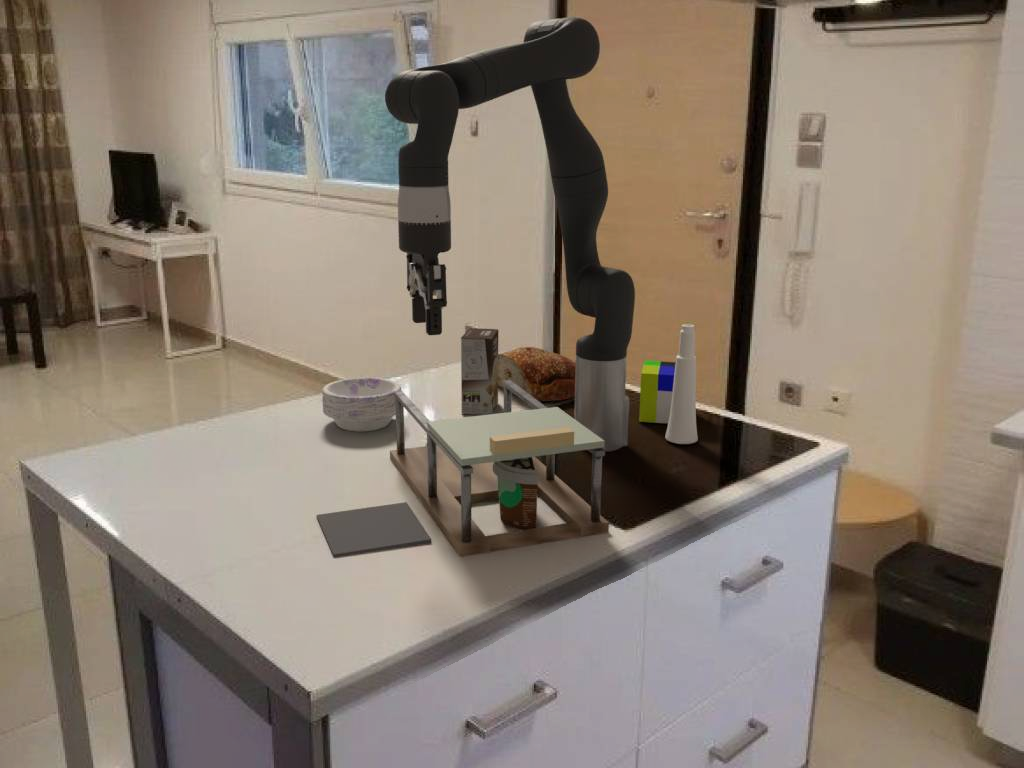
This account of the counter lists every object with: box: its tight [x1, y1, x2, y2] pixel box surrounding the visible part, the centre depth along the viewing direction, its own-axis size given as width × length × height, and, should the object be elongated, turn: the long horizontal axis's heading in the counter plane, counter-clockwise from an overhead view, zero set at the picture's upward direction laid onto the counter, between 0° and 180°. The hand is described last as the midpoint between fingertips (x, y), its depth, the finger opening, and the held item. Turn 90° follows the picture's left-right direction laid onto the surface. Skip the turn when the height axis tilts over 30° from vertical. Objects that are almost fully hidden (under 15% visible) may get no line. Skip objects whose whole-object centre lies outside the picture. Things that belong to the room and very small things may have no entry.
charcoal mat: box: [316, 501, 432, 558], centre depth 139 cm, size 14×14×1 cm
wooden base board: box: [389, 444, 610, 558], centre depth 153 cm, size 23×40×2 cm, turn 21°
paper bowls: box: [321, 377, 402, 433], centre depth 184 cm, size 15×15×8 cm
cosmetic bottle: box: [664, 323, 699, 445], centre depth 175 cm, size 6×6×22 cm
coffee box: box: [460, 328, 499, 416], centre depth 193 cm, size 9×6×16 cm
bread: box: [498, 346, 576, 402], centre depth 207 cm, size 20×18×10 cm
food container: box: [493, 457, 538, 531], centre depth 142 cm, size 12×6×10 cm, turn 5°
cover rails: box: [394, 380, 606, 543], centre depth 151 cm, size 21×39×11 cm, turn 21°
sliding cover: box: [427, 406, 604, 466], centre depth 139 cm, size 22×17×3 cm
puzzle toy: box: [638, 360, 676, 425], centre depth 190 cm, size 10×10×10 cm
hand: (426, 328), depth 139 cm, fingers open, 8 cm apart
